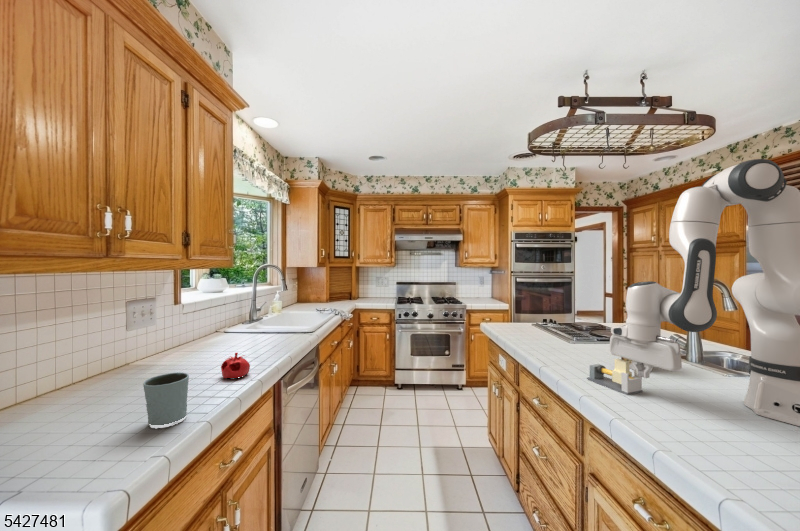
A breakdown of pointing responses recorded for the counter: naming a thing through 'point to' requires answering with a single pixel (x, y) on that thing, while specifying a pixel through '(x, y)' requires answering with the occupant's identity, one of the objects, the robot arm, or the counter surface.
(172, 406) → the grey plant pot
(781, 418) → the robot arm
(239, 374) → the pomegranate
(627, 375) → the linear slide clamp
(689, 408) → the counter surface
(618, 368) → the notched stepped block
